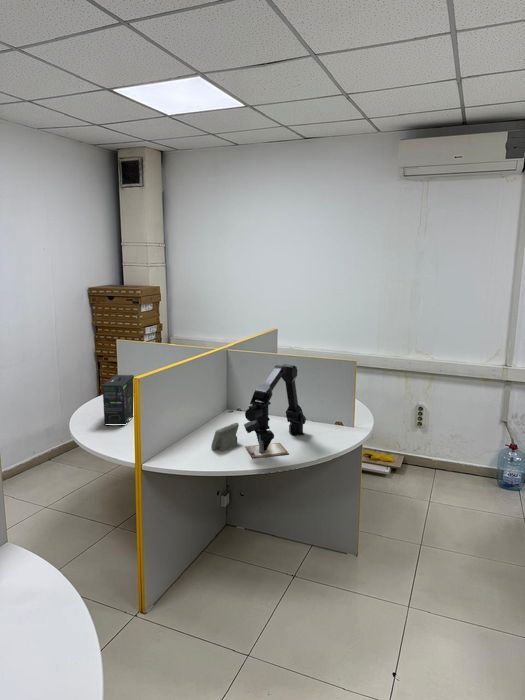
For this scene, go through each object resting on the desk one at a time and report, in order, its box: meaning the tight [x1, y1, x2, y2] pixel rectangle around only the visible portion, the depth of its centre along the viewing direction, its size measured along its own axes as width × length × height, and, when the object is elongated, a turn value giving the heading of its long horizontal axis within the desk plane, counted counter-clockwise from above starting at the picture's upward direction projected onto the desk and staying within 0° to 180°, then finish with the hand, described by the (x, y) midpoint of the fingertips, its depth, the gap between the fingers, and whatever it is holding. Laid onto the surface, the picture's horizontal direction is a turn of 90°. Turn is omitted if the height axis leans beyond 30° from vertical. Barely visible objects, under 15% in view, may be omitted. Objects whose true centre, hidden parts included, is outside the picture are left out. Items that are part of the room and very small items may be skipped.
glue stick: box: [258, 438, 265, 454], centre depth 228 cm, size 3×3×9 cm
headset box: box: [101, 374, 135, 425], centre depth 275 cm, size 22×12×26 cm, turn 179°
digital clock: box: [210, 422, 240, 451], centre depth 238 cm, size 16×9×11 cm, turn 131°
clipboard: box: [244, 442, 290, 459], centre depth 232 cm, size 18×14×2 cm
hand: (262, 446), depth 228 cm, fingers open, 9 cm apart
